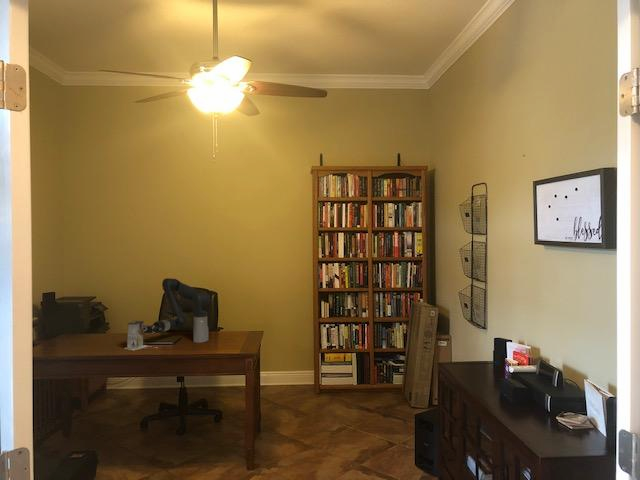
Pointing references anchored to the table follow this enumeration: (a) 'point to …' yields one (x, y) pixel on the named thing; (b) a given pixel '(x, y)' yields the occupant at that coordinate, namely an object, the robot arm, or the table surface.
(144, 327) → the robot arm
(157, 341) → the table surface
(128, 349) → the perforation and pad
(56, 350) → the table surface
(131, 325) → the coffee box
